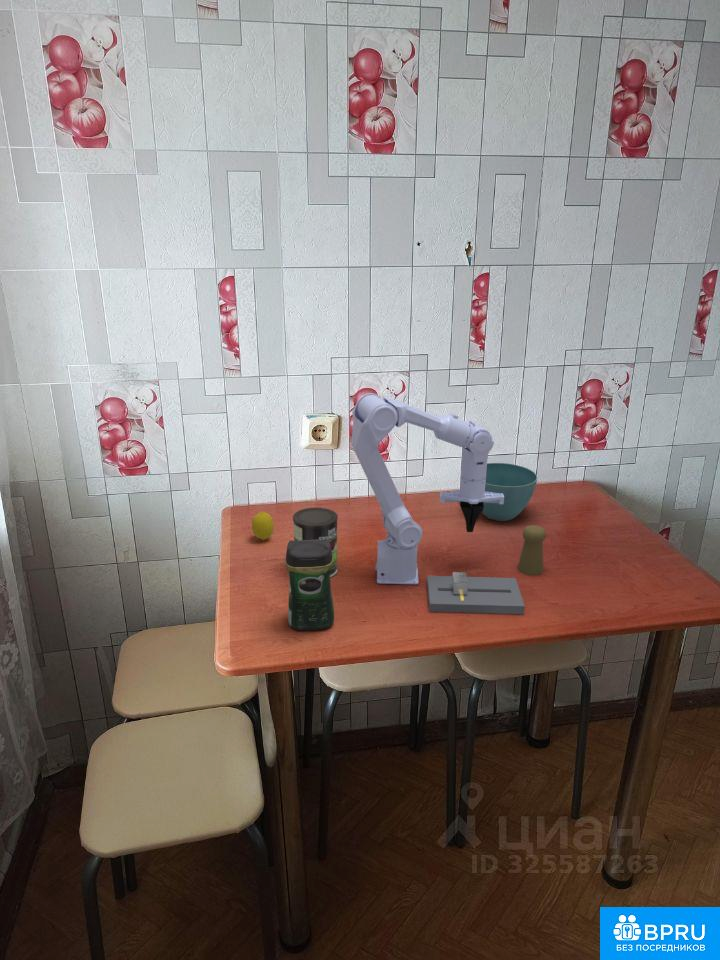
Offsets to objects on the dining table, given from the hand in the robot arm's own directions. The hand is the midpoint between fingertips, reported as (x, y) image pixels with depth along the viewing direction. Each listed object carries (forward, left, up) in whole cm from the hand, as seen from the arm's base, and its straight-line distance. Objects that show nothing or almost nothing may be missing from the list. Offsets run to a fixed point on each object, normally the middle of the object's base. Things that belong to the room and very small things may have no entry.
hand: (469, 530), depth 170 cm
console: (0, -15, -9) cm, 18 cm away
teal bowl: (+12, +30, -10) cm, 34 cm away
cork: (+15, -1, -10) cm, 18 cm away
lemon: (-51, +11, -10) cm, 53 cm away
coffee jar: (-35, -26, -10) cm, 45 cm away
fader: (-3, -15, -7) cm, 17 cm away
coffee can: (-36, -4, -10) cm, 37 cm away
